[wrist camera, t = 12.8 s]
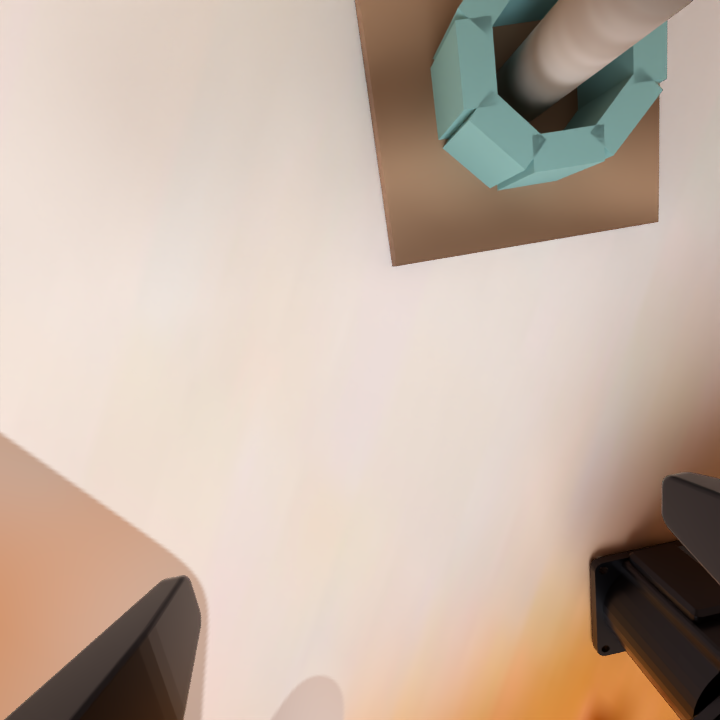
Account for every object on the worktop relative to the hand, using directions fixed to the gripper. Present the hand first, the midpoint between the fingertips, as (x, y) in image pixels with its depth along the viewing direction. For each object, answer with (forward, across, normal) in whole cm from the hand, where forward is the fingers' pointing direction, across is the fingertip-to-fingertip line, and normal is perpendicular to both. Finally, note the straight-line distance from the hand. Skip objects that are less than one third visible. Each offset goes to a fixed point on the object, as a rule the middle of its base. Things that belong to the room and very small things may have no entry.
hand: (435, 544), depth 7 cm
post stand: (+12, -8, -11) cm, 18 cm away
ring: (+11, -8, -11) cm, 18 cm away
